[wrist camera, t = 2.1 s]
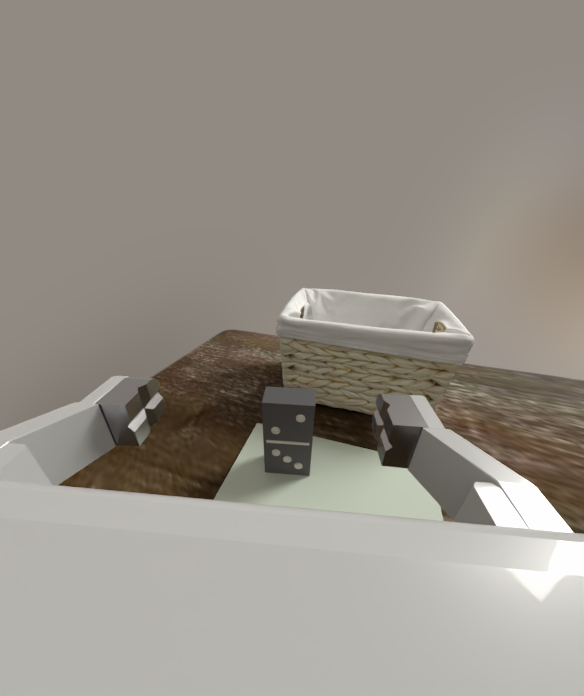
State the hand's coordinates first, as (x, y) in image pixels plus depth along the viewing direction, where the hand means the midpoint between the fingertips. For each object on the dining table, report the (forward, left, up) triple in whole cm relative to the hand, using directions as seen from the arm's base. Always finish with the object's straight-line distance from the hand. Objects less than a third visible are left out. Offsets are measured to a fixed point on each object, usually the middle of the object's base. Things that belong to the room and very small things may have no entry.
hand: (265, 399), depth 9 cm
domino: (+3, -12, -19) cm, 23 cm away
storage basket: (-4, -30, -20) cm, 37 cm away
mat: (-2, -11, -20) cm, 23 cm away
